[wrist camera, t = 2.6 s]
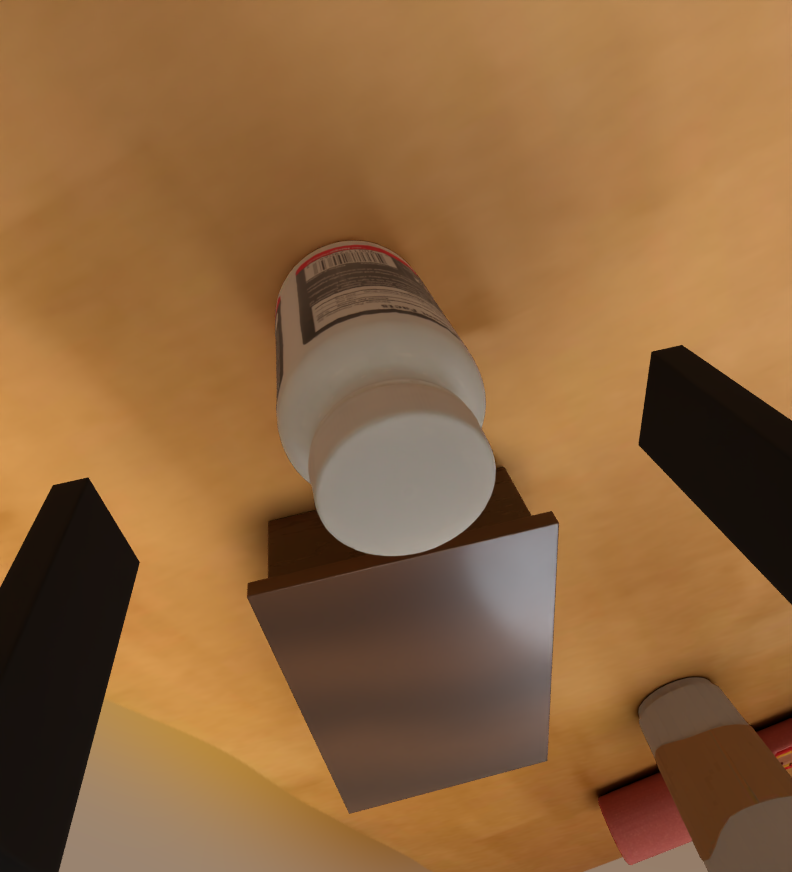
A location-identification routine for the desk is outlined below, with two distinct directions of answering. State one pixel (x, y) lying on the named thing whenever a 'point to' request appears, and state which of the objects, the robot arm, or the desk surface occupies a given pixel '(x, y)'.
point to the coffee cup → (720, 778)
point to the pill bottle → (379, 402)
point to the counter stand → (417, 649)
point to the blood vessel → (666, 806)
